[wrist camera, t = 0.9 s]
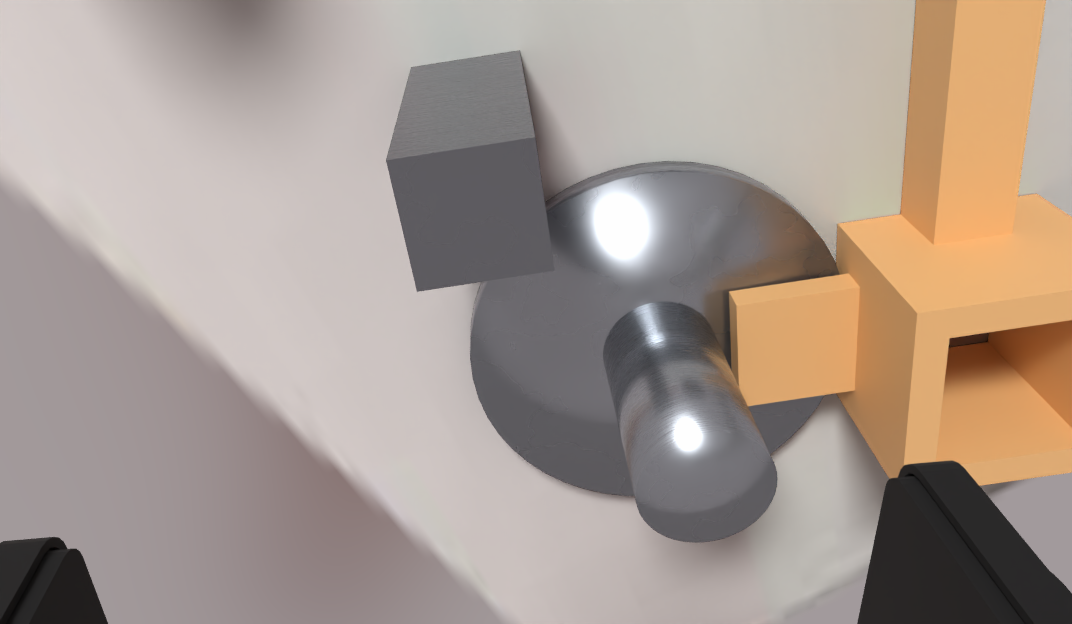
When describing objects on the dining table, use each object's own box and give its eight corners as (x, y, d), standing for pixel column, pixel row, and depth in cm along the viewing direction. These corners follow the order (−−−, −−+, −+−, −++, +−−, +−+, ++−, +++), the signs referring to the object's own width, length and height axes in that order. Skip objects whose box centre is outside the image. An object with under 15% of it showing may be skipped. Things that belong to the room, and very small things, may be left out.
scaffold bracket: (1087, -132, 30) (1257, -118, 23) (1010, 360, 40) (1115, 465, 33) (707, -72, 30) (770, -42, 24) (725, 402, 40) (773, 515, 34)
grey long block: (519, 50, 32) (535, 137, 23) (534, 154, 34) (554, 270, 25) (411, 67, 32) (385, 159, 23) (432, 170, 34) (417, 291, 25)
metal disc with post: (843, 132, 34) (969, 239, 25) (831, 452, 42) (924, 618, 33) (437, 194, 34) (424, 321, 26) (502, 501, 42) (508, 677, 33)
